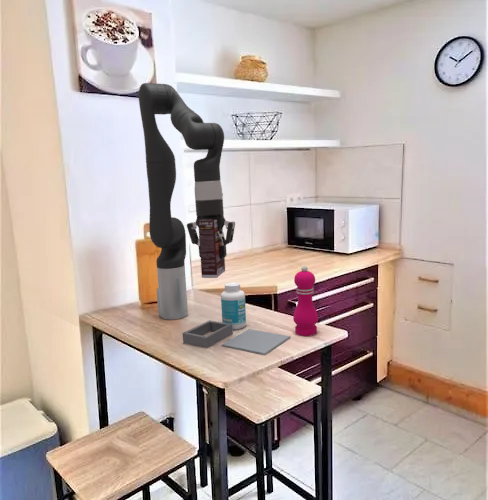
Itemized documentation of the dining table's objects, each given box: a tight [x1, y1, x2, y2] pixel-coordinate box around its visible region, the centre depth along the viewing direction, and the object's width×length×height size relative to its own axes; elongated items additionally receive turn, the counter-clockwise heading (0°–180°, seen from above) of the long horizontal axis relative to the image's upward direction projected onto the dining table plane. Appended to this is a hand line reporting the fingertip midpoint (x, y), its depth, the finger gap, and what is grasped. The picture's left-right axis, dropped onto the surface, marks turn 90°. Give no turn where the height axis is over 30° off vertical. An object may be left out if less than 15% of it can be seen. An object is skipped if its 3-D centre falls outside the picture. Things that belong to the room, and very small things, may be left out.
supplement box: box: [197, 219, 226, 279], centre depth 130 cm, size 9×5×16 cm, turn 167°
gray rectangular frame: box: [182, 320, 234, 349], centre depth 136 cm, size 8×12×3 cm
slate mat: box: [221, 328, 291, 356], centre depth 131 cm, size 14×14×1 cm
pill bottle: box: [220, 282, 247, 330], centre depth 144 cm, size 8×7×14 cm
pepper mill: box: [292, 265, 319, 337], centre depth 135 cm, size 7×7×20 cm
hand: (213, 258), depth 131 cm, fingers closed on supplement box, 5 cm apart
